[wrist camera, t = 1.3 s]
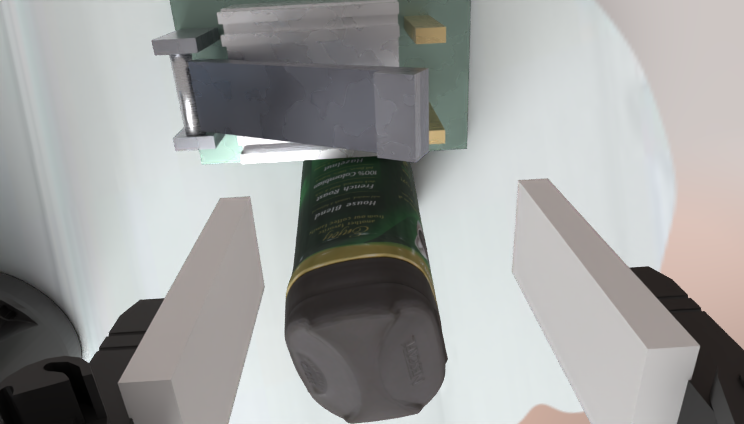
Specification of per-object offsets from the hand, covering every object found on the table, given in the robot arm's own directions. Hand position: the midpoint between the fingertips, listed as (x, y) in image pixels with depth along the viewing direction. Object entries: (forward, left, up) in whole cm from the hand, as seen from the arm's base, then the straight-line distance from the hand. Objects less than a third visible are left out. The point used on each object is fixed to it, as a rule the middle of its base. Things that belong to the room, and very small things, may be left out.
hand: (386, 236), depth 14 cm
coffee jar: (-1, -8, -26) cm, 27 cm away
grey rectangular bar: (-3, 0, -16) cm, 16 cm away
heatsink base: (-3, 0, -25) cm, 25 cm away
